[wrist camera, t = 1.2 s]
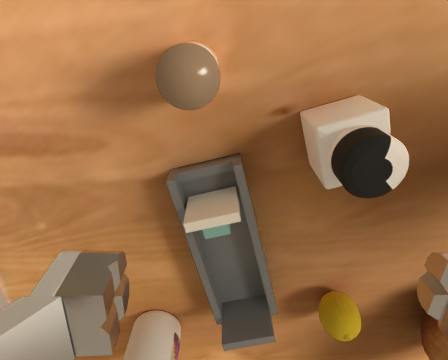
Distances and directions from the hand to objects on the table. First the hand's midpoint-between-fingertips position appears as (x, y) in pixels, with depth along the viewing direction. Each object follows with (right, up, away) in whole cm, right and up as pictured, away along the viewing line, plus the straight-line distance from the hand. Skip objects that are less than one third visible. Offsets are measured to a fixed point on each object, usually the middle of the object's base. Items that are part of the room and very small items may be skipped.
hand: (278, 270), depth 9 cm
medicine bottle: (+12, +8, +30) cm, 33 cm away
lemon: (+15, -15, +41) cm, 46 cm away
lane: (-1, -6, +36) cm, 37 cm away
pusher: (-3, 0, +32) cm, 32 cm away
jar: (-5, +15, +26) cm, 31 cm away
